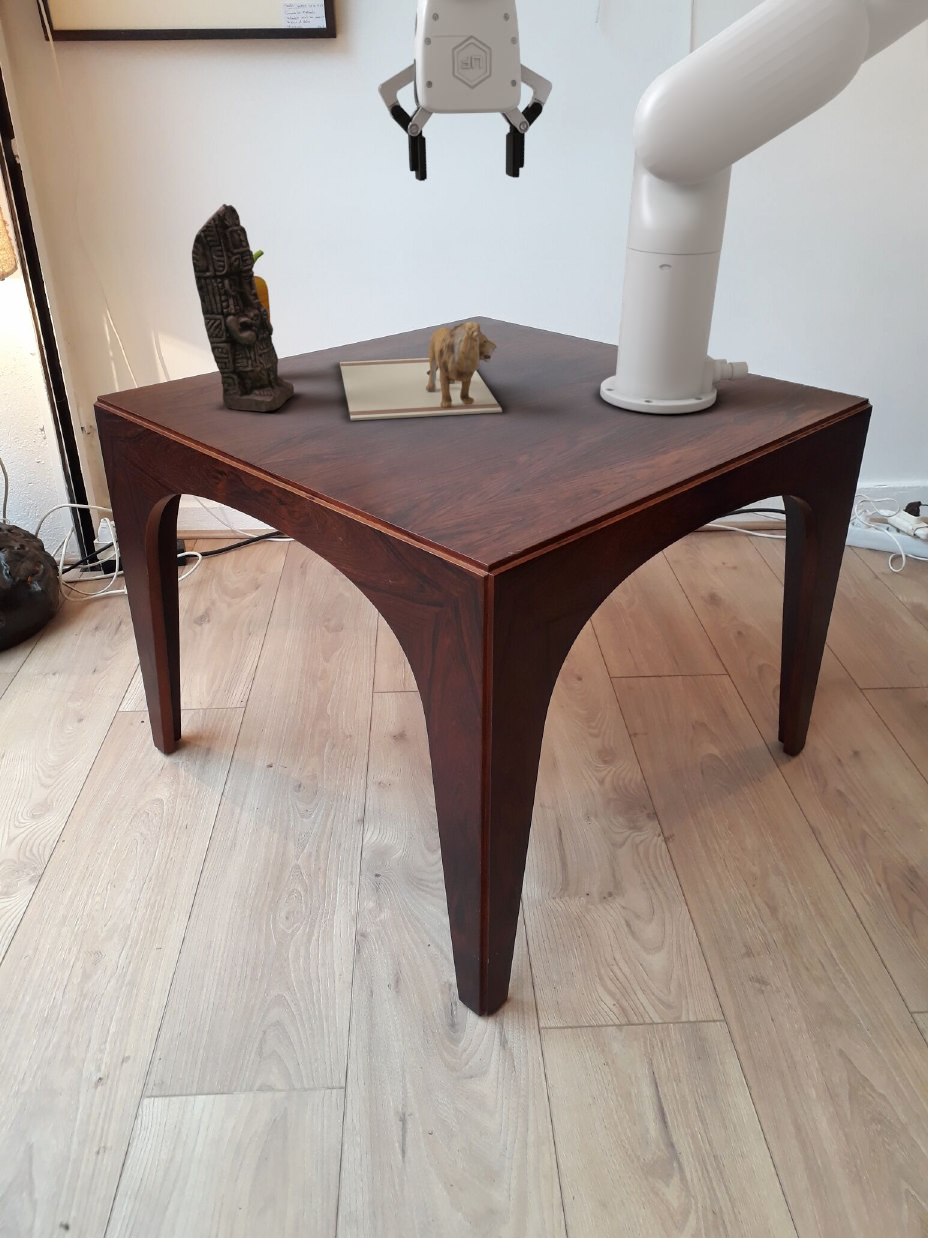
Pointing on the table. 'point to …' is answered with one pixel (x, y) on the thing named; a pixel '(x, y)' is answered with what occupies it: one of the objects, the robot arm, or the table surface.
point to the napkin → (406, 391)
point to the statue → (236, 315)
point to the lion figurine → (457, 358)
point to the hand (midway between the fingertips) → (467, 177)
